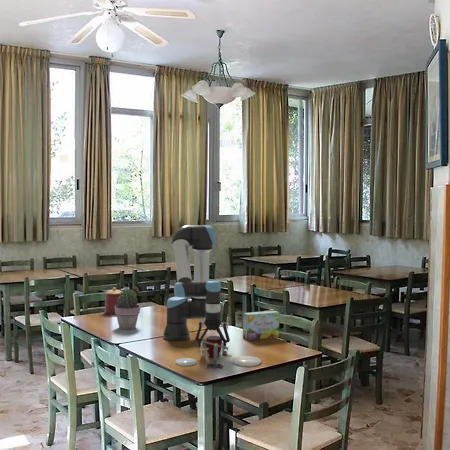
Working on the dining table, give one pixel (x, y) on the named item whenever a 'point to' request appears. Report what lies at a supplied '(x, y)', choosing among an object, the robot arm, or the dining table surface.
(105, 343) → the dining table surface
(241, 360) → the dish right
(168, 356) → the dining table surface
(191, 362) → the saucer left
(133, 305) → the potted plant
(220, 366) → the balance
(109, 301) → the canister
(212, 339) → the mug
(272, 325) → the snack box
